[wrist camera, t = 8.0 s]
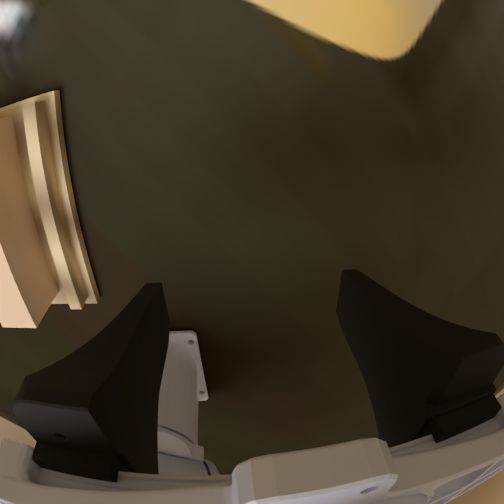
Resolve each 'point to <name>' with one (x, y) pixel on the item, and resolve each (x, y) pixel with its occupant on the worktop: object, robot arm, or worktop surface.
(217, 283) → the worktop surface
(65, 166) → the rack
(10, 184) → the clay bar
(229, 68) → the worktop surface
